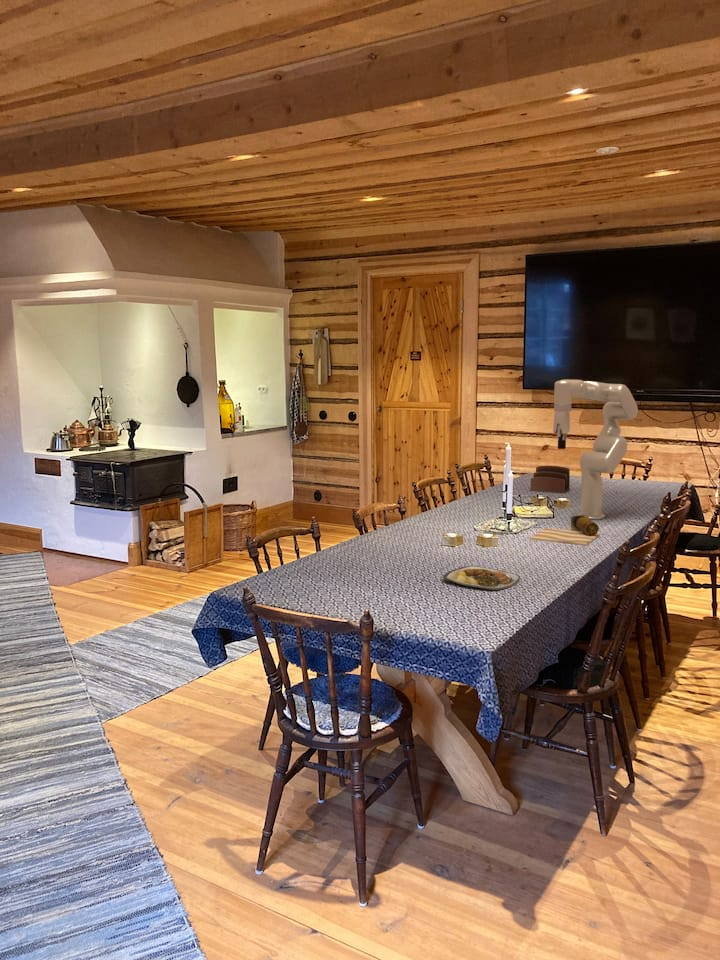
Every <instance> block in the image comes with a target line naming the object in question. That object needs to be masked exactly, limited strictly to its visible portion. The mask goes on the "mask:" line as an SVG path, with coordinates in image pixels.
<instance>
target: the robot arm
mask: <svg viewBox="0 0 720 960" xmlns="http://www.w3.org/2000/svg"><path fill="white" fill-rule="evenodd" d="M553 394H554V397H553V398H554V402H553V412H554V415H553V416H554V417H553V426H552V428H553V429H552V433H553V434H556V437H557V449H558V450H566V448H567V447H566V446H567V435H568V433H570V429H571V427H570V426H571V417H570V416H571V414H570V413H571V412H572V398H576V399H582V400H588V401H589V400H591V401H592V400H593V401H600V402H606V403H605V404H604V405H603V408H602V416H603V417H602V418H603V427H602V428H601V430H600V432H599V434H598V436H596V438H595V440H594V442H593V444H592V448H593V449H592V450H593V451H591V450H590V451H585V452H583V453H582V454H581V455H580V458H579V466H580V471H581V472H580V473H581V484H580V486H581V487H580V488H581V492H580V512H578V513H577V515H576V516H579V515H589V520H601V519H604V518H605V516H606V515H605V514H604V513H602V503H603V502H602V501H603V500H602V499H603V478H602V476H601V473H602V474H612V473H614V472H615V471H616V470H617V468H618V467H619V465H620V464H621V462H622V460H623V459H624V457H625V455H626V453H627V451H628V441H627V439H626V438H625V437H623V436H622V435H621V432H622V431H621V425H620V424H619V421H618V420H622V421H623V420H624V421H625V420H626V421H627V420H628V421H631V420H634V419H635V418H637V416H638V414H639V409H638V408H639V407H638V405H637V402H636V400H635V398H634V397H633V394H632V393H631V390H630V389H629V387H627V385H625V384H622V383H607V382H606V383H605V382H600V381H593V380H592V381H591V380H590V381H589V380H585V381H584V380H582V379H561V380H557V381H555V382H554V393H553Z"/></svg>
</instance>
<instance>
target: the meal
mask: <svg viewBox="0 0 720 960" xmlns="http://www.w3.org/2000/svg"><path fill="white" fill-rule="evenodd" d="M507 575H508V576H507ZM509 576H511V577H509ZM512 577H515V579H513V578H512ZM442 578H443V579H444V580H446V581H449V582H452V583H456V584H458V585H462V586H466V587H467V586H468V587H473V588H480V589H485V590H494V591H497V590H504V589H508V588H513V587H514V586H517V585H518V583H519V582H520V579H521V575H518V574H515V573H512V572H510V571H509V572H508V571H505V570H504V571H503V570H499V569H495V568H488V567H483V566H476V565H467V566H462V567H457V568H456V569H453V570H450V571H448V572H446V573H445V574H443V576H442ZM499 585H502V586H499Z"/></svg>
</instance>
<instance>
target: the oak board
mask: <svg viewBox="0 0 720 960" xmlns="http://www.w3.org/2000/svg"><path fill="white" fill-rule="evenodd" d="M600 536H601V534H600V533H596V534H595V535H590V534H586V533H584V532H582V531H580V532H578V531H571V530H567V529H558V528H548V527H546V528H543V529H542V530H540V531H538V532H536V533H535V534H533V535H531V536H530V537H529V540H532V541H533V540H535V541H542V542H549V543H550V542H551V543H561V544H569V545H576V546H577V545H578V546H586V547H587V546H588V545H589V544H590V543H592V542H594V541H595V540H596V539H597V538H599V537H600Z"/></svg>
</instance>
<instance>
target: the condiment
mask: <svg viewBox="0 0 720 960" xmlns="http://www.w3.org/2000/svg"><path fill="white" fill-rule="evenodd" d="M599 530H600V529H599V526H598V523H596V522H595V521H593V520H592V519H589V515H579V516H577V515H570V531H578V532H584V533H586V534H590V535H595V534H598V532H599Z"/></svg>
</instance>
